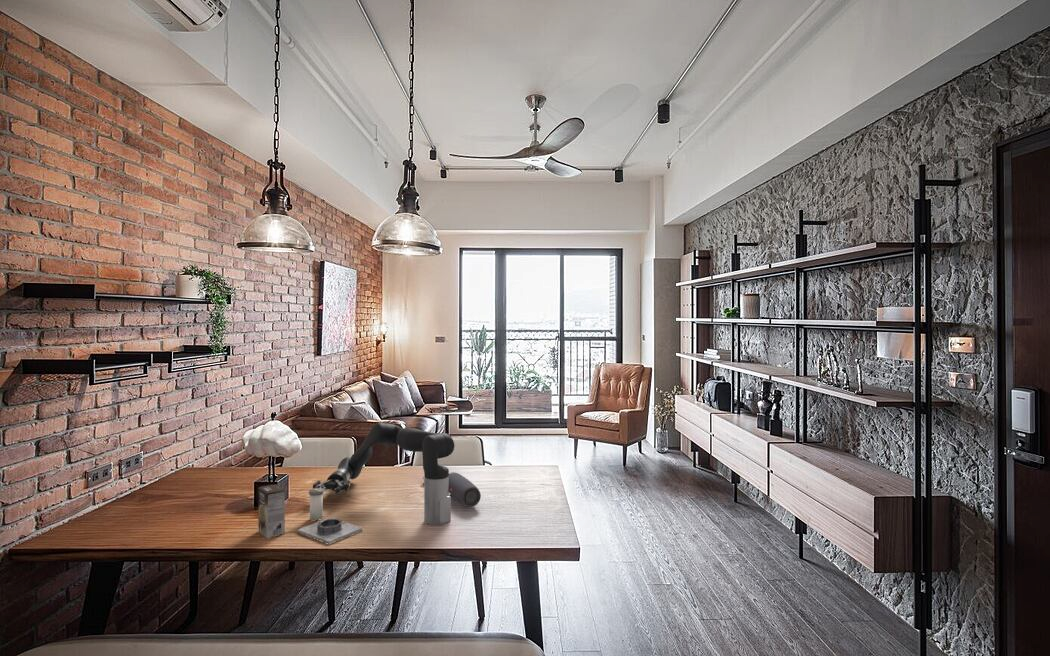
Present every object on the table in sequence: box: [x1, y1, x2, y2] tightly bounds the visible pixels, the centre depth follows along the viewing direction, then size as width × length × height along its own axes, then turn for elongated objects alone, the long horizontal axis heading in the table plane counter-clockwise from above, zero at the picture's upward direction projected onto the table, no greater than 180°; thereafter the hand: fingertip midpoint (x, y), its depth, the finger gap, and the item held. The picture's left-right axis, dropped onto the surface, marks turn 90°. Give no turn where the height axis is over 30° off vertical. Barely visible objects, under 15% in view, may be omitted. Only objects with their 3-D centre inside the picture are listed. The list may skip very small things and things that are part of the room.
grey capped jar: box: [308, 487, 325, 521], centre depth 201 cm, size 5×5×11 cm
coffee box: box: [257, 483, 286, 539], centre depth 188 cm, size 9×6×16 cm
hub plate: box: [296, 516, 363, 545], centre depth 189 cm, size 18×14×3 cm
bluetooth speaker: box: [449, 472, 482, 508], centre depth 222 cm, size 23×9×10 cm, turn 27°
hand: (325, 491), depth 213 cm, fingers open, 8 cm apart
